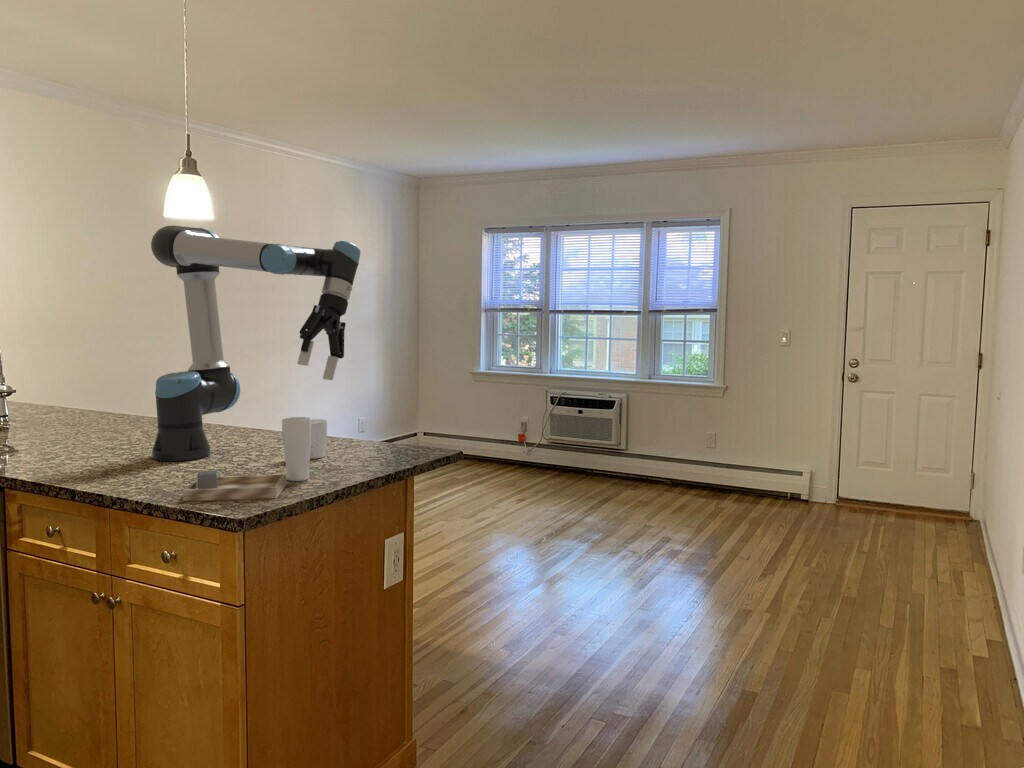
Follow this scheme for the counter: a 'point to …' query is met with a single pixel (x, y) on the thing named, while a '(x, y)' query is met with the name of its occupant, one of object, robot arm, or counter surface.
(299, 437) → the drinking glass
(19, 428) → the counter surface
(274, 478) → the tray
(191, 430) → the robot arm
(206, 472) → the cube
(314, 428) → the white cup
